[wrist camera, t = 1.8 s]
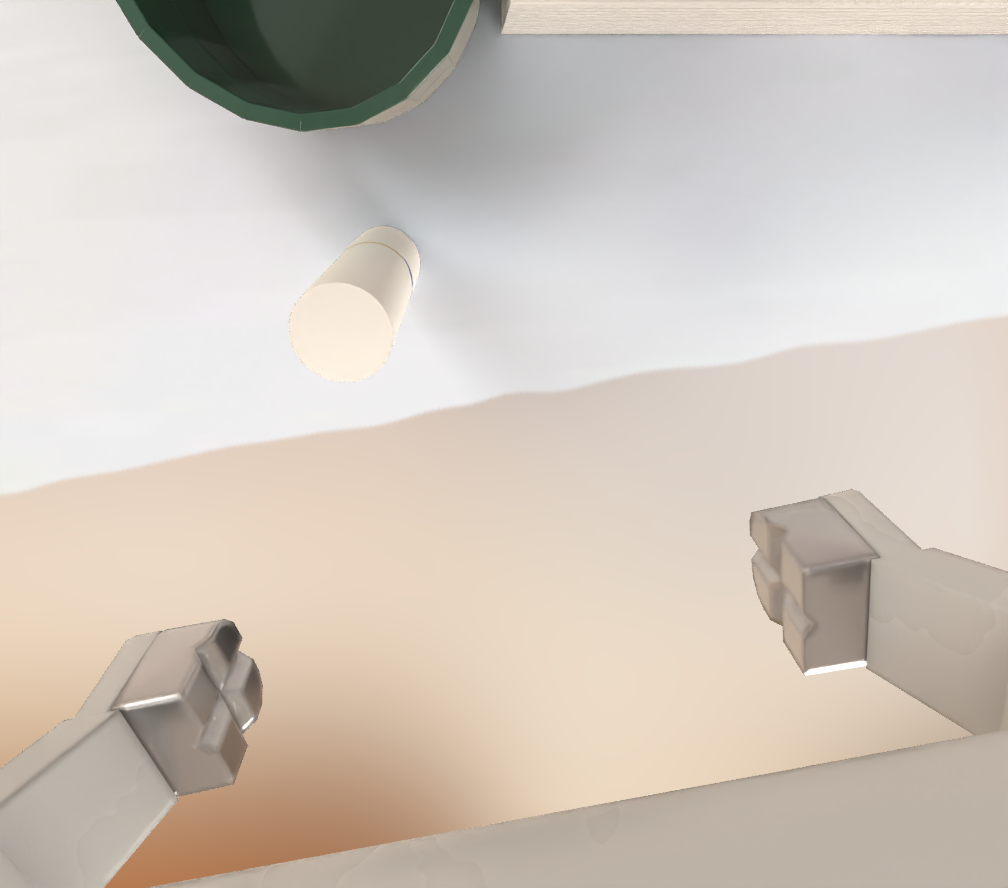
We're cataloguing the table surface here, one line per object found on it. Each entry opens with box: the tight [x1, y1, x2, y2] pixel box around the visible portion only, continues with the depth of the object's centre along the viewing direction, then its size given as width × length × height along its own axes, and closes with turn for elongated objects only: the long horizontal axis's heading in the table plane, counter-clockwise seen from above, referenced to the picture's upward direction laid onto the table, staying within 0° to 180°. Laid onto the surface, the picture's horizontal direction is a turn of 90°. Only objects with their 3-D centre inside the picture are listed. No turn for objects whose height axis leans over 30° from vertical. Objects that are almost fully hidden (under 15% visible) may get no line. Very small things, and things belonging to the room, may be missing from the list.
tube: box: [289, 226, 420, 382], centre depth 34 cm, size 4×4×15 cm
